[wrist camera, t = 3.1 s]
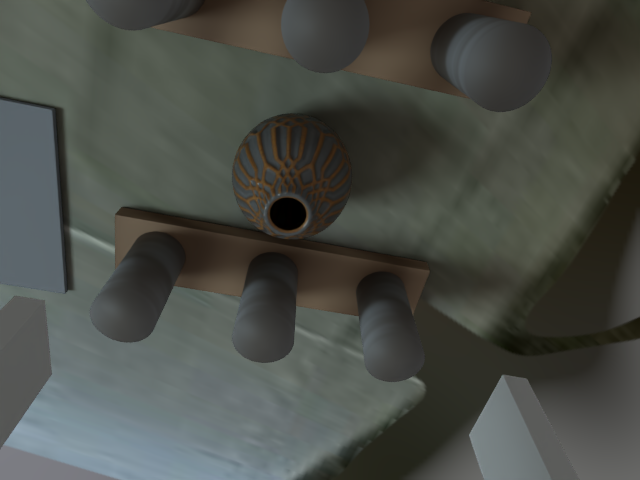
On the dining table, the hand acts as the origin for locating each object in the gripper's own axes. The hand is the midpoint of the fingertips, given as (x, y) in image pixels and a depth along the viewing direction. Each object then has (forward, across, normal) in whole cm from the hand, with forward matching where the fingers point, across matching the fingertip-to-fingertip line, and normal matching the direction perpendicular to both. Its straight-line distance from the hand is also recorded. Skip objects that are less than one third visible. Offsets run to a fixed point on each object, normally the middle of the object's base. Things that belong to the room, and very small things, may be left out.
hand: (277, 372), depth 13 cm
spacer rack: (+19, 0, 0) cm, 19 cm away
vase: (+19, 0, 0) cm, 19 cm away
